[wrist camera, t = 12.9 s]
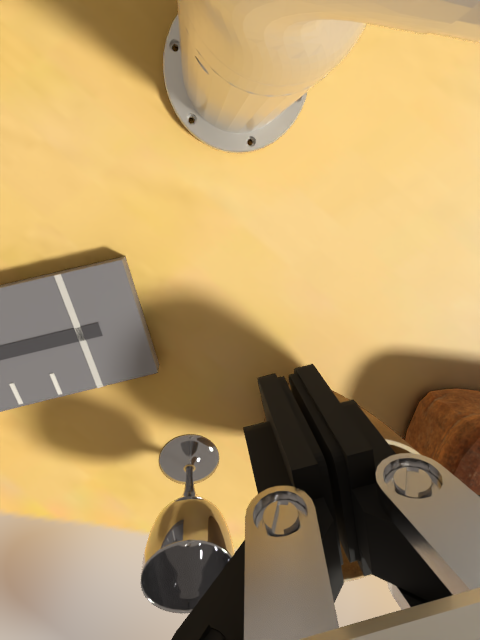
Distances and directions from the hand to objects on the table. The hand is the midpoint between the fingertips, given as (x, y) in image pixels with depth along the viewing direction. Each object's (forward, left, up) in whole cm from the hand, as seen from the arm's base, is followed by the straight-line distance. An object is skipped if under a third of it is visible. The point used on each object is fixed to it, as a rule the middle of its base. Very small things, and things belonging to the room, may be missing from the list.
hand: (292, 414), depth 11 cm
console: (+4, -24, -29) cm, 38 cm away
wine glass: (+23, -9, -29) cm, 38 cm away
